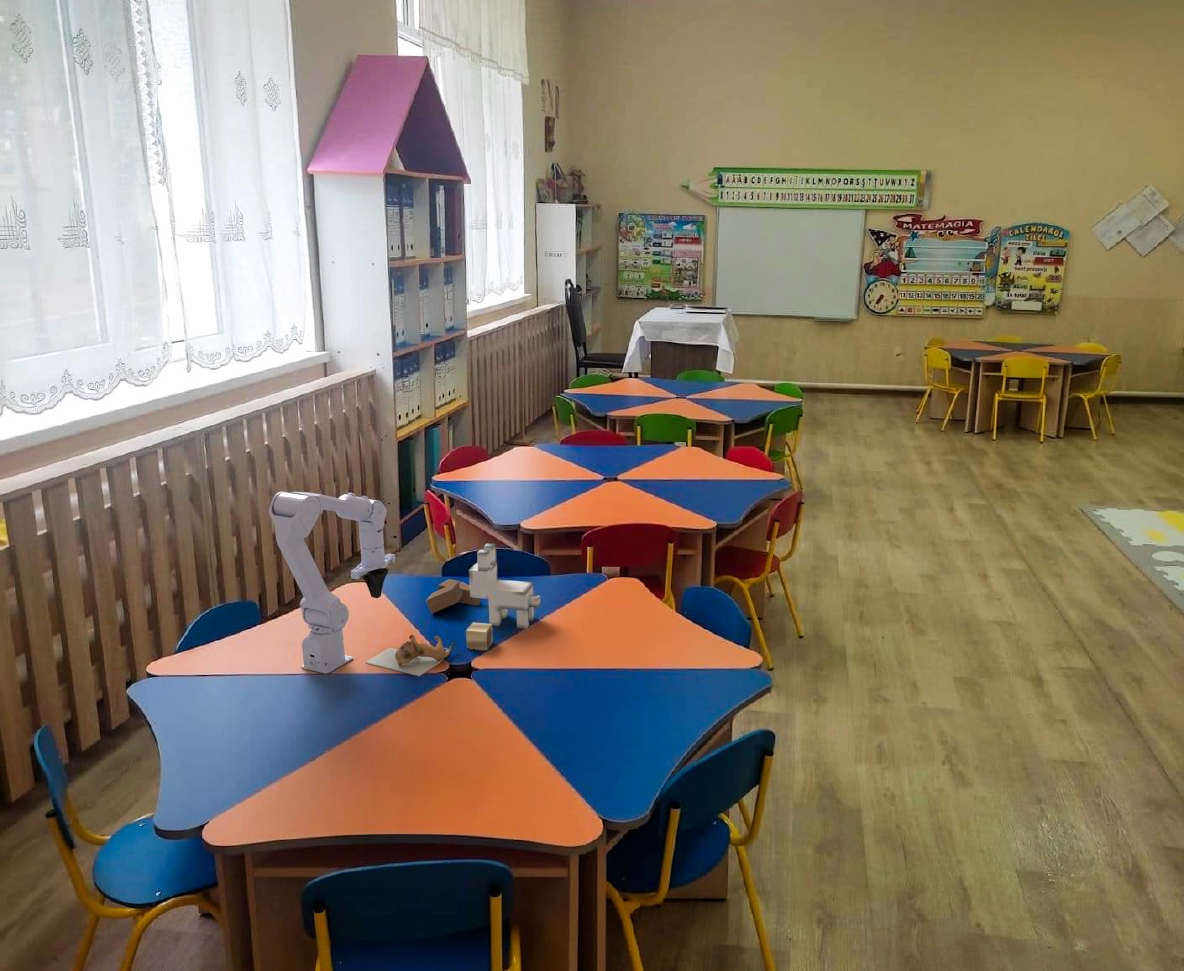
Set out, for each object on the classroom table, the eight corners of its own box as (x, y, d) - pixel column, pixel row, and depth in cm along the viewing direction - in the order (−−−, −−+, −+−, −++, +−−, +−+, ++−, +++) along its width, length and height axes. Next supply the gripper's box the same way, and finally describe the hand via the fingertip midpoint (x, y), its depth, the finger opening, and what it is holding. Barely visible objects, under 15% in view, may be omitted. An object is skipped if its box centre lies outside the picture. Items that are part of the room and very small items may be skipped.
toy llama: (535, 629, 250) (533, 556, 245) (471, 624, 254) (467, 551, 249) (543, 618, 257) (541, 546, 252) (481, 613, 261) (477, 542, 256)
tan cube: (486, 650, 238) (486, 632, 237) (467, 649, 239) (466, 630, 238) (493, 642, 243) (492, 624, 242) (473, 641, 244) (472, 622, 243)
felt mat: (419, 676, 225) (419, 675, 225) (365, 663, 232) (365, 662, 232) (442, 661, 233) (442, 660, 233) (389, 648, 240) (389, 647, 240)
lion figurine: (394, 654, 236) (394, 671, 227) (394, 634, 234) (394, 650, 226) (456, 651, 238) (458, 668, 230) (456, 631, 237) (458, 647, 228)
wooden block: (487, 605, 275) (466, 621, 258) (443, 596, 278) (419, 611, 260) (491, 580, 274) (469, 594, 257) (447, 571, 277) (422, 584, 259)
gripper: (365, 556, 234) (369, 609, 238) (403, 539, 246) (406, 589, 250) (342, 552, 237) (347, 604, 241) (381, 536, 250) (385, 585, 253)
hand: (376, 596), depth 246 cm, fingers closed
